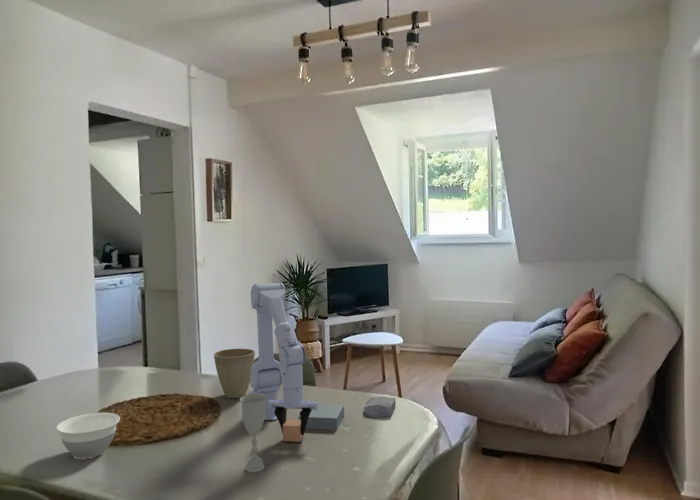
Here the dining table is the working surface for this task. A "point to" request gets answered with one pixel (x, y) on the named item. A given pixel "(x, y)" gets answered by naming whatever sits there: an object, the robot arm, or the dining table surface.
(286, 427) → the terracotta block
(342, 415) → the slate box
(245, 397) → the chalice
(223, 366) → the plant pot
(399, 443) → the dining table surface
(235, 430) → the dining table surface
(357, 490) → the dining table surface
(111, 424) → the bowl
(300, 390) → the robot arm
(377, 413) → the stone block
